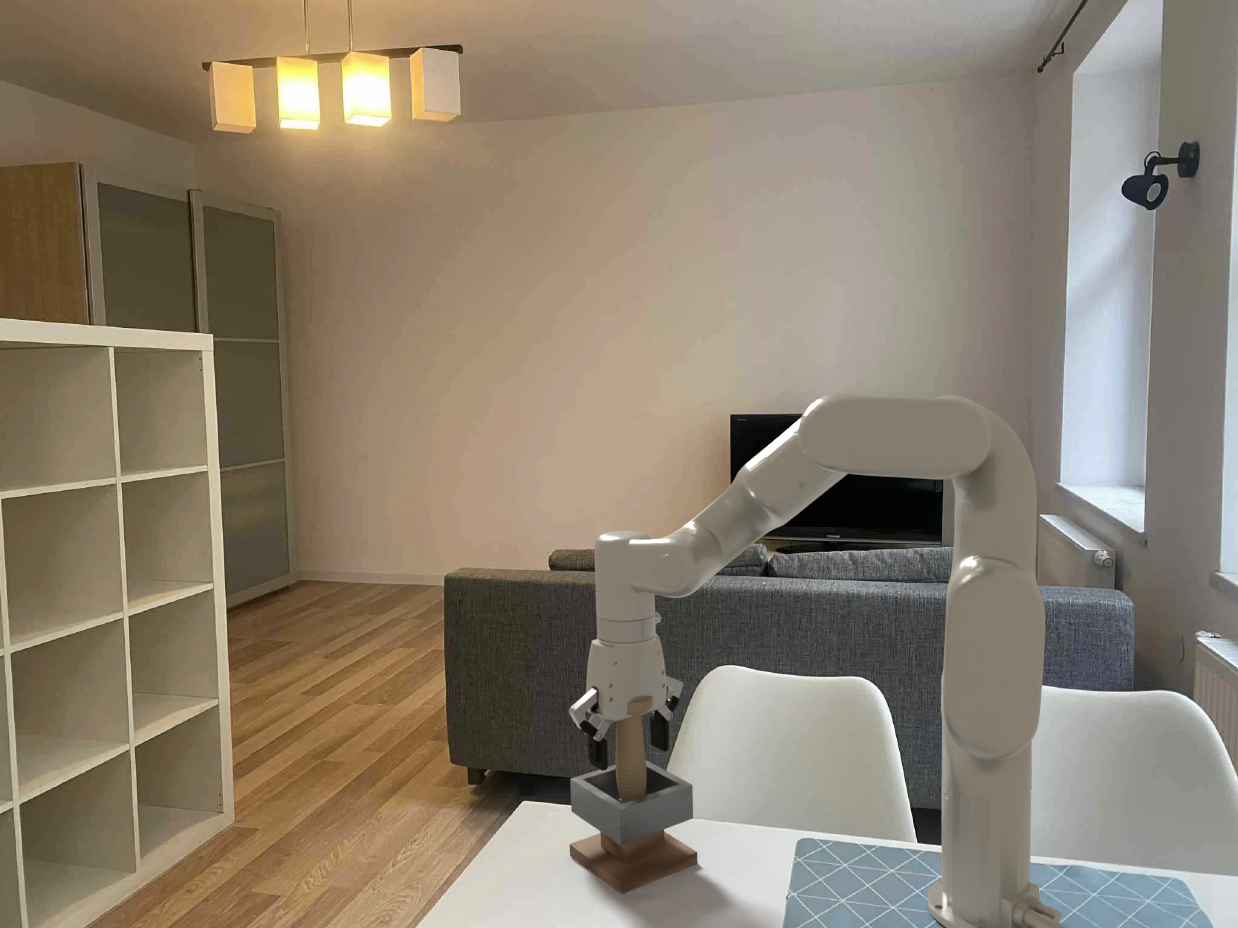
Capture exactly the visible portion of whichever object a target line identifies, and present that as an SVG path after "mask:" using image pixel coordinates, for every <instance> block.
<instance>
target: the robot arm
mask: <svg viewBox="0 0 1238 928" xmlns="http://www.w3.org/2000/svg"><path fill="white" fill-rule="evenodd" d="M848 474H850V475H861V476H869V477H870V476H872V477H873V476H874V477H889V478H891V477H893V478H909V479H923V480H924V479H926V480H951V481H952V484H953V485H952V486H953V488H954V489H953V491H954V516H953V517H954V523H953V524H954V534H953V535H954V537H953V549H952V550H953V551H952V564H951V573H950V577H949V579H948V584H947V589H946V597H945V598H946V600H945V601H946V602H945V622H944V623H945V627H944V629H945V630H944V646H943V647H944V651H943V668H942V674H941V681H940V683H941V684H940V686H941V687H940V696H941V697H940V712H941V713H940V714H941V724H942V725H941V879H940V880H939V881H938V880H937V881H936V882H935V883H933V885H931V887H930V888H929V890H928V892H927V908H928V910H929V913H930V914H931V915H932V916H933V918H934V919H935V920H936V921H937V922H938V923H939V924H941V925H942V926H943V927H945V928H1061V924H1060V921H1061V919H1062V912H1061V911H1060V910H1058V909H1056V908H1054V907H1052V906H1050V905H1046V904H1044V903H1043V902H1042V900H1040V886H1039V884H1036V883H1034V882H1031V832H1032V831H1031V824H1032V823H1031V817H1032V816H1031V815H1032V813H1031V812H1032V809H1031V808H1032V802H1031V801H1032V786H1033V783H1032V781H1033V778H1032V777H1033V774H1032V773H1033V767H1032V766H1033V765H1032V764H1033V763H1032V762H1033V761H1032V760H1033V759H1032V758H1033V756H1032V755H1033V748H1032V747H1033V745H1032V744H1033V743H1032V741H1033V739H1034V738H1035V736H1036V733H1037V730H1038V727H1039V725H1040V724H1039V723H1040V714H1041V703H1042V689H1043V678H1044V677H1043V675H1044V663H1045V662H1044V660H1045V641H1046V613H1045V612H1046V610H1045V605H1044V600H1043V597H1042V593H1041V591H1040V589H1039V585H1038V582H1037V577H1036V555H1037V554H1036V552H1037V516H1038V515H1037V507H1038V506H1037V503H1038V502H1037V501H1038V499H1037V498H1038V497H1037V485H1036V476H1035V472H1034V469H1033V465H1032V462H1031V459H1030V456H1029V454H1028V452H1027V450H1026V448H1025V446H1024V445H1023V442H1022V441H1021V439H1020V437H1018V435H1017V433H1016V432H1015V431H1014V430H1013V429H1012V428H1011V426H1010V425H1009V424H1008V423H1007V422H1006V421H1004V420H1003V418H1001V417H1000V416H998V415H997V414H995V412H993V411H991V410H989V409H988V408H986V407H985V406H983V405H981V404H980V403H978V402H976V401H974V400H972V399H969V398H967V397H963V396H961V395H952V394H951V395H950V394H949V395H947V394H946V395H941V396H937V397H895V396H894V397H891V396H890V397H889V396H888V397H886V396H868V395H866V396H865V395H859V394H857V393H853V392H849V391H840V392H835V393H830V394H827V395H823V396H822V397H820V398H818V399H815V401H813V402H812V403H810V404H809V406H808V407H807V408H806V409H805V411H804V413H802V415H801V417H800V418H799V419H797V421H795V422H794V423H793V424H792V425H791V426H789V428H787V429H786V430H785V431H783V433H781V434H780V435H779V436H778V437H776V439H774V440H773V441H772V442H771V443H769V444H768V445H767V446H766V447H764V448H763V449H762V450H761V451H760V452H758V453H757V454H756V455H755V456H753V457H752V458H751V459H750V460H749V461H747V462H746V463H745V464H744V465H743V466H742V467H741V468H740V470H738V472H737V474H736V476H735V478H734V480H733V481H732V483H731V484H730V485H729V486H728V487H727V488H726V490H724V491H723V492H722V493H721V494H720V495H719V496H717V498H716V499H715V500H713V501H712V502H711V503H710V504H709V505H707V506H706V507H705V508H704V509H703V510H702V511H700V512H699V513H698V514H697V515H696V516H695V517H693V518H692V519H691V520H690V521H688V522H687V523H686V524H684V525H683V526H681V528H679V529H677V530H675V531H674V532H672V533H670V534H668V535H666V536H664V537H663V536H662V537H659V538H654V539H652V537H651V536H650V535H649V534H647V533H645V532H642V531H637V530H617V531H615V530H614V531H608V532H605V533H602V534H601V535H599V536H598V537H597V539H596V540H595V543H594V570H595V571H594V573H595V574H594V576H595V577H594V578H595V601H596V602H595V605H596V609H595V610H596V611H595V613H596V637H597V638H596V639H593V640H591V643H590V648H589V653H588V659H587V667H586V668H587V670H586V683H585V685H586V687H585V688H586V690H585V694H584V695H582V697H580V698H579V699H578V700H577V701H576V702H575V703H574V704H572V705H571V706H570V707H569V709H568V713H569V715H570V717H571V719H572V721H573V722H574V724H575V727H576V728H578V730H579V731H581V732H582V733H583V734H584V735H586V737H587V750H588V751H587V753H588V754H587V755H588V760H589V762H590V764H591V765H592V766H593V767H595V768H597V769H598V770H602V771H604V770H607V768H608V767H609V760H608V759H609V757H608V741H607V739H606V738H604V736H605V735H606V733H607V731H608V729H609V727H610V726H611V725H612V723H616V722H617V721H621V720H625V719H628V718H631V717H633V715H627V707H628V703H631V702H635V701H638V700H642V699H645V698H648V697H651V696H653V705H652V707H651V708H650V709H649V710H648V711H646V712H644V713H642V714H641V715H642V716H643V715H646V714H649V713H653V715H650V718H649V728H650V729H649V730H650V733H649V734H650V745H651V746H653V747H655V748H656V749H658V750H660V751H662V752H667V751H669V750H670V748H669V747H670V745H669V743H670V742H669V741H670V723H669V721H671V720H672V719H673V718H674V717H673V716H674V715H673V712H674V711H675V710H676V708H677V706H678V705H679V703H680V699H679V697H680V696H681V694H682V691H683V688H684V682H683V681H682V680H679V679H676V678H673V677H671V676H668V675H667V674H666V665H665V658H664V653H663V646H662V643H661V639H660V635H659V634H657V633H656V629H657V628H656V626H657V624H658V623H661V621H662V615H661V614H660V612H656V597H655V596H656V595H657V596H661V597H665V598H673V599H677V598H686V597H688V596H690V595H692V594H694V593H695V592H696V591H698V590H699V589H700V588H701V587H703V585H704V584H705V583H707V582H708V581H709V580H710V579H712V578H713V577H714V576H715V575H716V574H718V573H719V572H720V571H721V570H722V569H723V568H724V567H726V566H727V565H728V564H730V563H731V562H732V561H733V560H734V559H736V558H737V557H738V556H739V555H741V553H743V552H744V551H745V550H747V549H748V548H749V547H751V546H752V545H753V544H754V543H756V542H757V541H758V540H759V539H761V538H762V537H763V536H765V535H766V534H768V533H769V532H771V531H772V530H775V529H778V528H779V527H783V526H784V525H786V524H787V523H788V522H789V521H791V519H793V518H794V517H795V516H797V515H798V514H799V513H801V512H802V511H803V510H804V509H805V508H807V507H808V506H809V505H810V504H812V503H813V502H814V501H816V500H817V499H818V498H819V497H820V496H822V495H823V494H824V493H825V492H826V491H828V490H829V489H830V488H832V487H833V486H834V485H835V484H836V483H838V482H839V481H840V480H842V479H843V478H844V477H845V476H847V475H848ZM667 688H668V689H667ZM586 713H588V714H591V715H590V717H589V719H588V720H587V717H586Z"/></svg>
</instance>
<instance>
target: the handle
mask: <svg viewBox="0 0 1238 928" xmlns="http://www.w3.org/2000/svg"><path fill="white" fill-rule="evenodd" d="M652 705H653V696H651V697H648V698H645V699H642V700H638V701H635V702H631V703H628V707H627V715H633V717H631V718H628V719H625V720H621V721H617V722H615V765H616V779H617V787H618V792H619V796H620V797H621V798H620V799H619V801H620V803H622V804H623V803H626V802H629V801H632V800H635V799H638V798H641V797H643V796H645V792H646V778H647V774H646V773H647V771H646V760H647V759H646V751H645V750H646V749H645V742H644V733H643V722H642V721H643V720H642V719H643V715H641V714H642V713H644V712H646V711H648V710H649V709H650V708H651V707H652Z"/></svg>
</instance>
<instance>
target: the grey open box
mask: <svg viewBox="0 0 1238 928" xmlns="http://www.w3.org/2000/svg"><path fill="white" fill-rule="evenodd" d="M646 771H647V773H646V774H647V778H646V792H645V796H643V797H641V798H638V799H635V800H632V801H629V802H626V803H623V804H622V803H620V801H619V799H620V798H621V797H620V796H619V792H618V787H617V779H616V764H613V765H610V766H608V768H607V770H604V771H602V770H600V769H598V770H593V771H591V772H588V773H585V774H581V775H578V776H575V777H572V778H570V779H569V780H570V805H571V807H570V808H571V812H572V813H573V814H574V815H576V816H577V817H579V818H580V819H581V820H583V821H584V822H586V823H588V824H589V825H591V826H592V827H593V828H595V829H596V830H598V831H599V833H600V832H602V833H603V834H605V835H606V836H608V837H609V838H611V839H612V840H614V841H615V842H616V843H618V844H619V845H624V844H626V843H629V842H632V841H634V840H637V839H640V838H642V837H645V836H648V835H650V834H653V833H656V832H658V831H661V830H664V831H665V829H669V828H672V827H674V826H676V825H680V824H682V823H685V822H688V821H690V820H692V819H694V796H693V794H694V793H693V791H694V790H693V789H694V788H693V784H692V783H690V782H688V781H687V780H685V779H683V778H681V777H678V776H677V775H675V774H673V773H671V772H669V771H667V770H665V768H664V769H663V768H661V767H660V766H659V765H657V764H654V763H652V762H651V761H649V760H647V759H646Z"/></svg>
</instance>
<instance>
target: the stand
mask: <svg viewBox="0 0 1238 928" xmlns="http://www.w3.org/2000/svg"><path fill="white" fill-rule="evenodd" d="M569 856H571V857H572V858H573V859H575V860H576V861H577V862H578V863H580V864H582V866H584V867H585V868H587V870H589V871H590V872H592V873H593V874H594V875H596V876H597V877H598V878H600V879H601V880H602V881H603V882H605V883H606V884H608V885H609V886H611V888H613V889H614V890H616V891H617V892H618V893H620V895H624V894H626V893H629V892H631V891H633V890H635V889H638V888H640V887H643V886H645V885H648V884H650V883H653V882H655V881H657V880H660V879H662V878H664V877H667V876H669V875H672V874H674V873H677V872H680V871H682V870H685V869H687V868H689V867H691V866H694V865H696V864H698V862H699V861H698V851H696V850H695V849H693V848H692V847H690V846H688V845H687V844H685V843H684V842H682V841H680V840H679V839H677V838H675V837H674V836H673V835H671V834H669V833H668V832H666V831H665V829H664V830H661V831H658V832H656V833H653V834H650V835H648V836H645V837H642V838H640V839H637V840H634V841H632V842H629V843H626V844H624V845H619V844H618V843H616V842H615V841H614V840H612V839H611V838H609V837H608V836H606V835H605V834H603V833H602V832H600V831H599V833H596V834H594V835H591V836H589V837H585V838H583V839H579V840H577V841H575V842H572V843H569Z"/></svg>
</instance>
